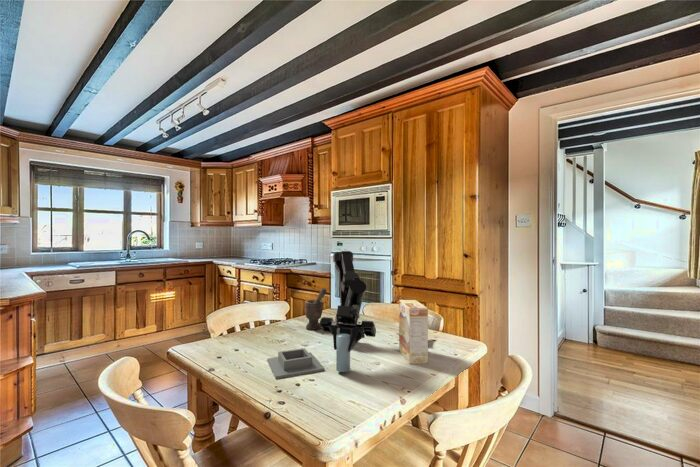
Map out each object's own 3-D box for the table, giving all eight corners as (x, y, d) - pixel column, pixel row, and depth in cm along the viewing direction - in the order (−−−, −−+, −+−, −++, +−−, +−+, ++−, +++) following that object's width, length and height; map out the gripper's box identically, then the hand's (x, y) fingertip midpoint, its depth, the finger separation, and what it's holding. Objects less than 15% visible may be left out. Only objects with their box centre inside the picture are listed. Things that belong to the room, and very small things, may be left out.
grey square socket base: (310, 354, 121) (310, 344, 121) (324, 370, 106) (324, 359, 106) (267, 360, 115) (267, 350, 115) (275, 379, 100) (275, 366, 100)
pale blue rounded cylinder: (346, 365, 108) (347, 332, 108) (352, 370, 104) (352, 336, 104) (334, 367, 106) (334, 334, 106) (339, 373, 102) (339, 338, 102)
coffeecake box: (398, 349, 127) (398, 299, 127) (416, 348, 128) (416, 299, 128) (408, 364, 112) (408, 308, 112) (428, 363, 113) (428, 307, 113)
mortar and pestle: (331, 327, 158) (331, 286, 158) (324, 332, 149) (324, 288, 150) (309, 325, 161) (309, 285, 161) (301, 330, 153) (302, 287, 153)
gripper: (321, 293, 112) (307, 334, 101) (374, 297, 106) (365, 341, 96) (329, 311, 119) (317, 351, 109) (379, 315, 114) (371, 358, 103)
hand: (341, 350), depth 104 cm, fingers closed on pale blue rounded cylinder, 4 cm apart
